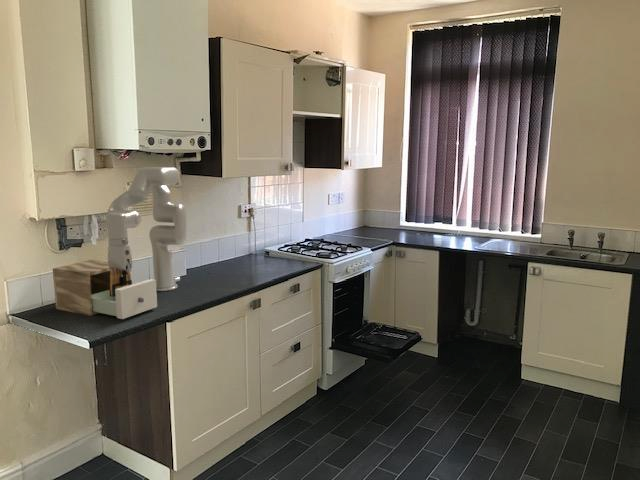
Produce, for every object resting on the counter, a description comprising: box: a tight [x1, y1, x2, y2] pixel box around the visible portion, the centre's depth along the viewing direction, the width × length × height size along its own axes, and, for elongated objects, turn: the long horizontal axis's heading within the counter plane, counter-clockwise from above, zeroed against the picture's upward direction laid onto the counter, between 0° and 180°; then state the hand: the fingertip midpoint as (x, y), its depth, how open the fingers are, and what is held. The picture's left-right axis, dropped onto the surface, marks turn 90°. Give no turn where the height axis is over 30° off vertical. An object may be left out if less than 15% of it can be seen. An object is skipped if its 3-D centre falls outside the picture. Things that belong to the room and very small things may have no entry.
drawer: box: [91, 278, 158, 320], centre depth 230 cm, size 19×24×12 cm
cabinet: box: [52, 259, 124, 317], centre depth 238 cm, size 20×22×18 cm
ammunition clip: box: [110, 267, 133, 297], centre depth 228 cm, size 11×2×12 cm, turn 152°
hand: (121, 284), depth 228 cm, fingers closed on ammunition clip, 2 cm apart
